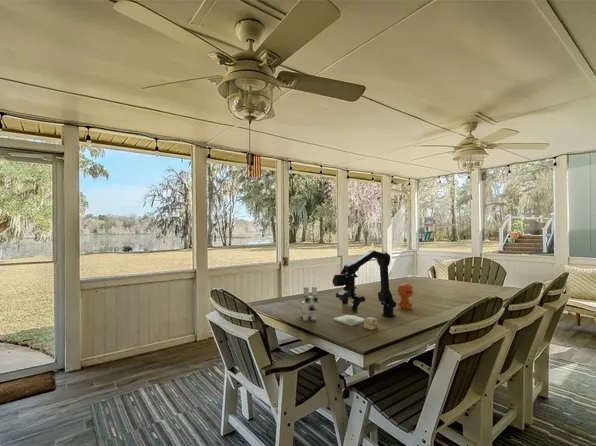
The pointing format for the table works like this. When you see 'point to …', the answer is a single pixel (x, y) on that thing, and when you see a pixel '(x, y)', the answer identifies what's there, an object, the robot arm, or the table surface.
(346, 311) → the walnut block
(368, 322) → the maple block
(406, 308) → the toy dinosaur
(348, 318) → the plate
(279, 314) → the table surface
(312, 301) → the toy rabbit
